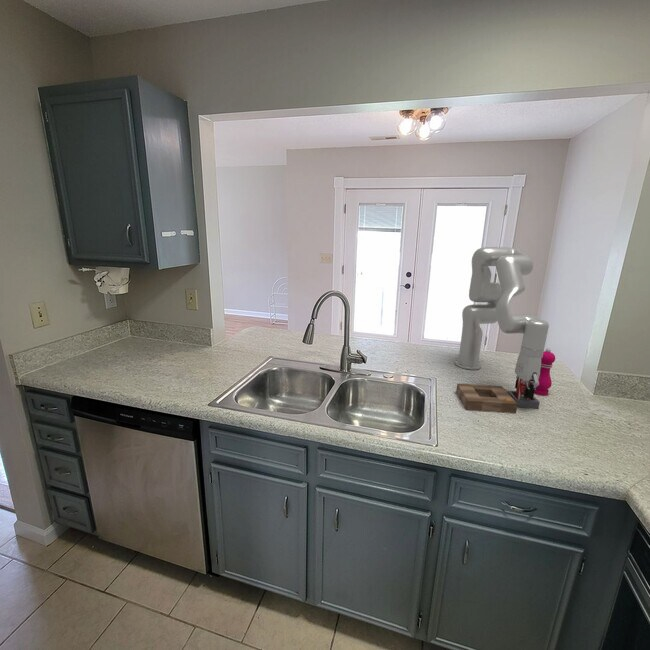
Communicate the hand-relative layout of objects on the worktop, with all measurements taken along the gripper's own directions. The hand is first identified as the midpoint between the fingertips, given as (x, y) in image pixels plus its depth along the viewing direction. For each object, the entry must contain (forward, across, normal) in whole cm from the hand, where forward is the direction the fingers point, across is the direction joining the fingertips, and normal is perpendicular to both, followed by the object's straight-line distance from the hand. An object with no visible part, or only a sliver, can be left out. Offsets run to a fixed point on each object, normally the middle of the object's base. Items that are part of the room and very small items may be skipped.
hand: (523, 392), depth 135 cm
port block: (+4, +2, -15) cm, 16 cm away
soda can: (+5, 0, 0) cm, 5 cm away
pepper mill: (+5, -11, +12) cm, 17 cm away
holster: (+4, 0, 0) cm, 4 cm away
